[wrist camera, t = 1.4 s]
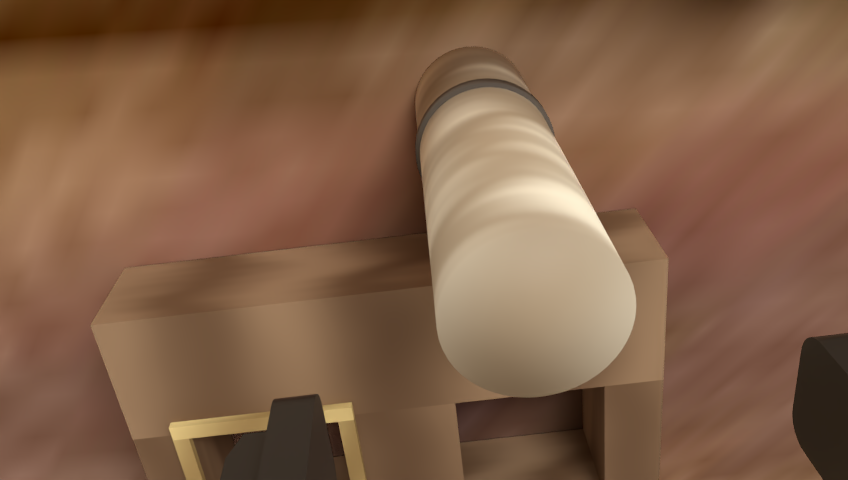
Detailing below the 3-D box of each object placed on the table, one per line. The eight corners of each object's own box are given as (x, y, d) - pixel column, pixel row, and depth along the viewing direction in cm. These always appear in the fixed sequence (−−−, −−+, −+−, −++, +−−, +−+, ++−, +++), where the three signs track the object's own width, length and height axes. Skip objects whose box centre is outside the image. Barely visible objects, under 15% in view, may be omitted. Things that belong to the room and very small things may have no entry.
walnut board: (635, 208, 30) (671, 262, 26) (630, 506, 38) (657, 582, 34) (124, 268, 30) (87, 330, 27) (219, 551, 38) (200, 632, 34)
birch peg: (526, 36, 27) (644, 210, 15) (532, 150, 29) (639, 390, 17) (404, 50, 27) (418, 236, 15) (418, 164, 29) (441, 412, 17)
